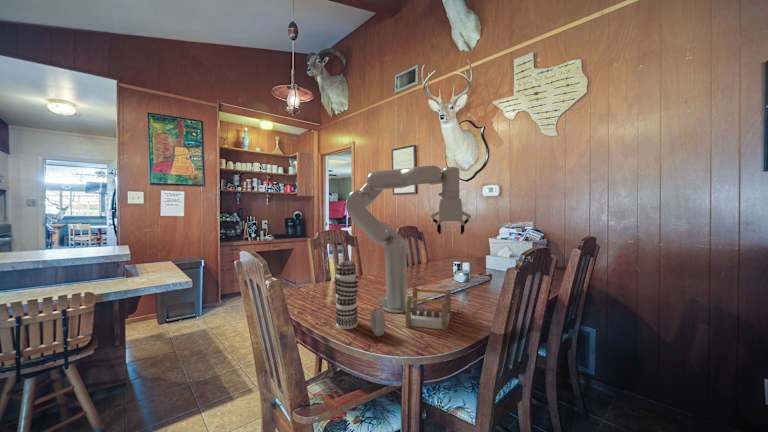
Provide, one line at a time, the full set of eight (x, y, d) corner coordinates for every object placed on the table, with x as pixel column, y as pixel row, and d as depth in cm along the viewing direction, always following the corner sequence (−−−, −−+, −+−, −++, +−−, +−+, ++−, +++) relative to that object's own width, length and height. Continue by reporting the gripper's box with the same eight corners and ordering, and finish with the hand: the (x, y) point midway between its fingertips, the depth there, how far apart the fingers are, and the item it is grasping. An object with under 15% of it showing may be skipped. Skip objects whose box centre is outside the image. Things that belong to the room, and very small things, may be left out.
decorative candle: (342, 319, 127) (341, 259, 126) (362, 322, 124) (361, 260, 123) (330, 327, 119) (329, 263, 118) (351, 330, 115) (350, 265, 114)
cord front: (409, 300, 117) (409, 298, 117) (409, 300, 118) (409, 297, 118) (443, 303, 114) (443, 301, 114) (443, 303, 115) (443, 300, 114)
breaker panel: (408, 325, 120) (408, 313, 120) (413, 316, 130) (413, 305, 129) (446, 329, 116) (446, 317, 115) (449, 320, 125) (449, 308, 125)
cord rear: (416, 291, 130) (416, 289, 130) (416, 291, 131) (416, 288, 131) (447, 294, 126) (447, 291, 126) (447, 293, 127) (447, 291, 127)
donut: (386, 340, 107) (386, 312, 107) (377, 341, 106) (377, 313, 105) (378, 329, 116) (377, 303, 116) (369, 330, 115) (369, 304, 115)
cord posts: (405, 327, 118) (405, 297, 117) (413, 314, 132) (413, 287, 132) (447, 332, 113) (447, 300, 113) (451, 318, 127) (451, 289, 127)
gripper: (429, 195, 134) (429, 234, 134) (470, 194, 129) (470, 235, 129) (432, 196, 141) (432, 233, 142) (471, 195, 136) (471, 233, 136)
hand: (450, 234), depth 135 cm, fingers open, 9 cm apart
